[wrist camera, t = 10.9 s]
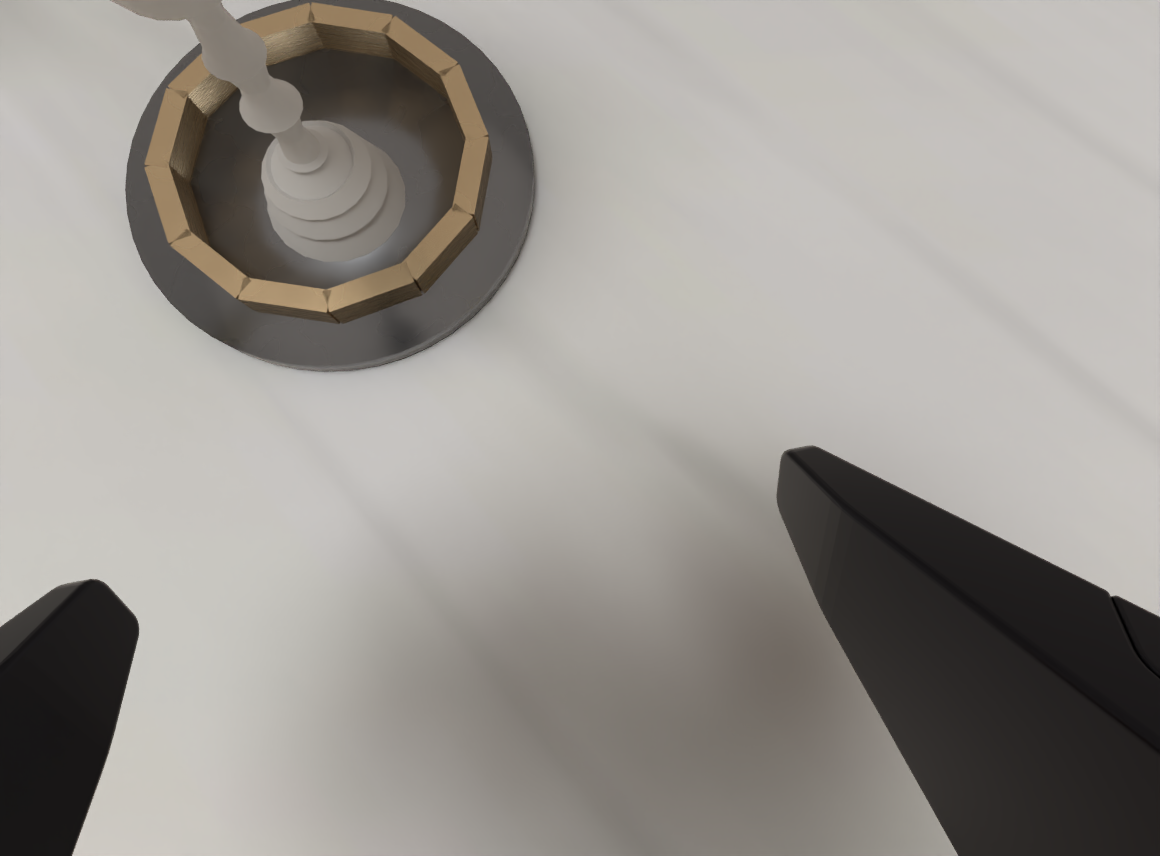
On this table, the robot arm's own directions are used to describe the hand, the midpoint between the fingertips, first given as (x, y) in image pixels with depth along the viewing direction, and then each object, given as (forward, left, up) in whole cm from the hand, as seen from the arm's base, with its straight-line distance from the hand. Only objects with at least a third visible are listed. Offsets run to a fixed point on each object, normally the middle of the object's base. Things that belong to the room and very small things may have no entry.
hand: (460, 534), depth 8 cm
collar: (+6, +14, -13) cm, 20 cm away
